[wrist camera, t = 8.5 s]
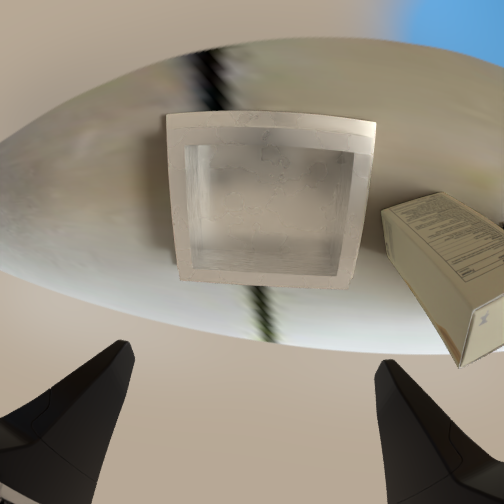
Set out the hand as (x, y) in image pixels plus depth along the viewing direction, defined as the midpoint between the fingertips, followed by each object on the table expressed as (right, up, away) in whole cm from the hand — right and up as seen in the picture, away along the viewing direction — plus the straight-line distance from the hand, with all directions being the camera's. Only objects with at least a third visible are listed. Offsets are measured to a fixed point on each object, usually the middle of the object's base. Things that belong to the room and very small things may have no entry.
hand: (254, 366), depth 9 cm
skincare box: (+13, +6, +11) cm, 18 cm away
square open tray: (+1, +8, +11) cm, 13 cm away
